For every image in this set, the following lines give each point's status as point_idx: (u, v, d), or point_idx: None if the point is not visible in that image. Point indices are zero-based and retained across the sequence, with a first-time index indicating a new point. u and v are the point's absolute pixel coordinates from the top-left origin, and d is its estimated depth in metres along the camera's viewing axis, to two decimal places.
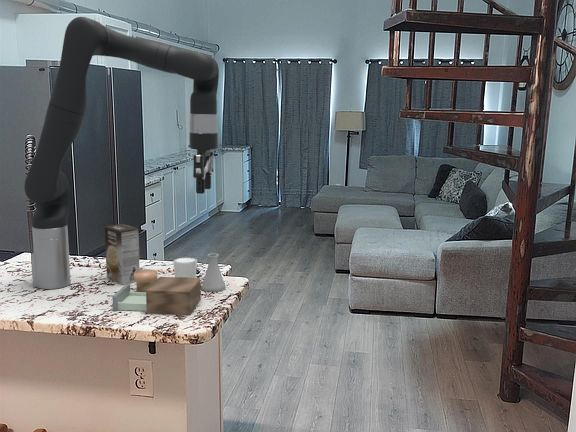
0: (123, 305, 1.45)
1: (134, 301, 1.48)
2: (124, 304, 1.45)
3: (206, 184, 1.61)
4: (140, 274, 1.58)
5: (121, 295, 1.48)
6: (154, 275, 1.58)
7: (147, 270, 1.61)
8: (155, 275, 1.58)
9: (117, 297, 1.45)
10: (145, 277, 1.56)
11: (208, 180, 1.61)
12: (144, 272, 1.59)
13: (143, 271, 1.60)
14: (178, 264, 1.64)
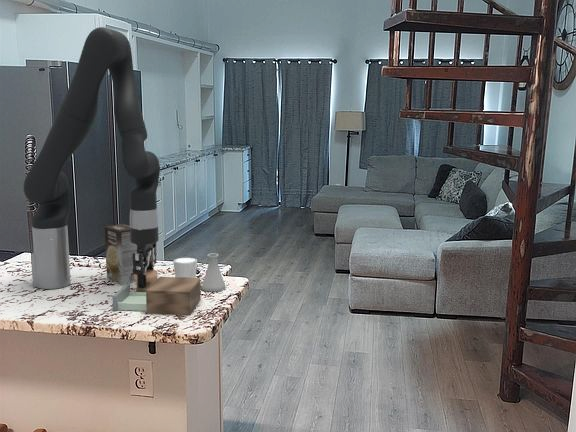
0: (123, 305, 1.45)
1: (134, 301, 1.48)
2: (124, 304, 1.45)
3: None
4: None
5: (121, 295, 1.48)
6: (154, 275, 1.58)
7: (147, 270, 1.61)
8: (155, 275, 1.58)
9: (117, 297, 1.45)
10: None
11: None
12: None
13: None
14: (178, 264, 1.64)
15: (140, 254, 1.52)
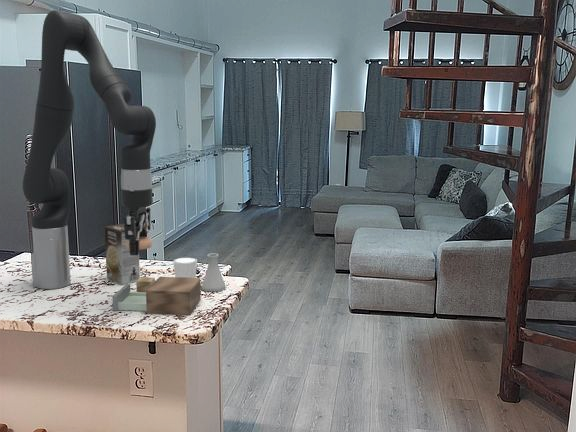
0: (123, 305, 1.45)
1: (134, 301, 1.48)
2: (124, 304, 1.45)
3: None
4: None
5: (121, 295, 1.48)
6: (148, 241, 1.45)
7: (140, 237, 1.48)
8: (149, 242, 1.45)
9: (117, 297, 1.45)
10: None
11: None
12: None
13: None
14: (178, 264, 1.64)
15: (132, 217, 1.38)
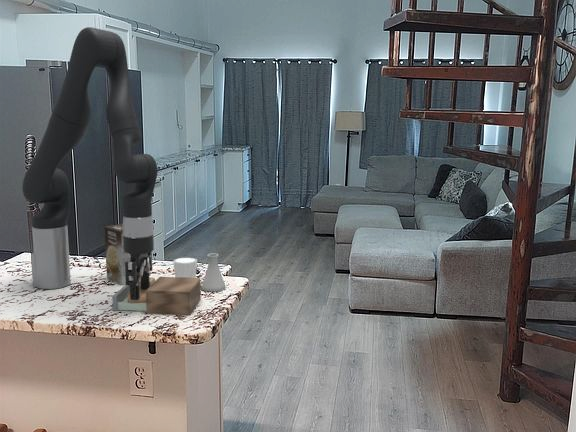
0: (123, 305, 1.45)
1: None
2: (124, 304, 1.45)
3: (144, 284, 1.52)
4: None
5: (121, 295, 1.48)
6: None
7: (142, 291, 1.51)
8: None
9: (117, 297, 1.45)
10: (139, 299, 1.46)
11: (146, 280, 1.52)
12: (139, 293, 1.49)
13: None
14: (178, 264, 1.64)
15: (134, 262, 1.41)
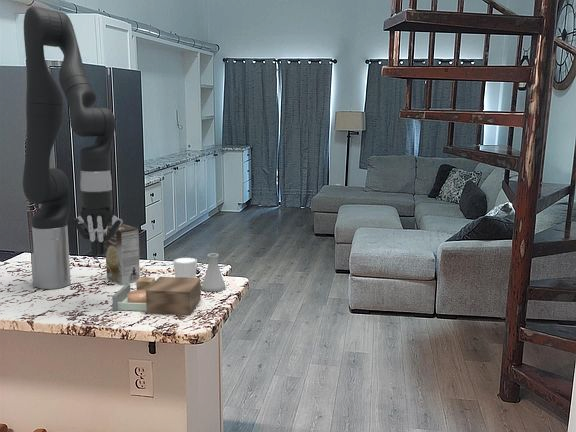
0: (123, 305, 1.45)
1: None
2: (124, 304, 1.45)
3: None
4: (135, 295, 1.47)
5: (121, 295, 1.48)
6: None
7: (142, 291, 1.51)
8: None
9: (117, 297, 1.45)
10: (140, 299, 1.46)
11: None
12: (138, 293, 1.49)
13: (138, 292, 1.50)
14: (178, 264, 1.64)
15: None
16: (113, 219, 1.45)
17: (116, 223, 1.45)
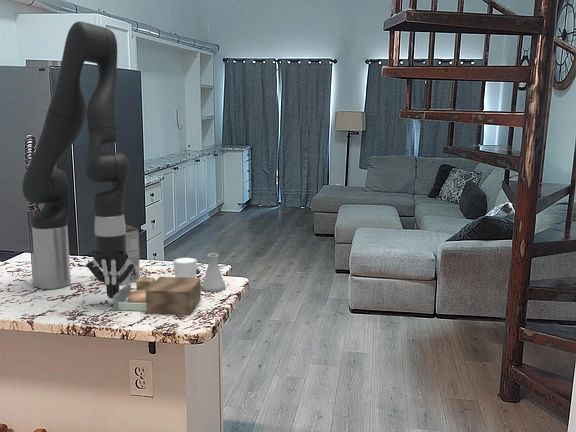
0: (124, 305, 1.45)
1: None
2: (125, 304, 1.45)
3: None
4: (136, 295, 1.47)
5: (122, 295, 1.48)
6: None
7: (142, 291, 1.51)
8: None
9: (118, 297, 1.45)
10: (140, 299, 1.46)
11: None
12: (139, 293, 1.49)
13: (138, 292, 1.50)
14: (178, 264, 1.64)
15: None
16: (127, 263, 1.47)
17: (129, 267, 1.46)
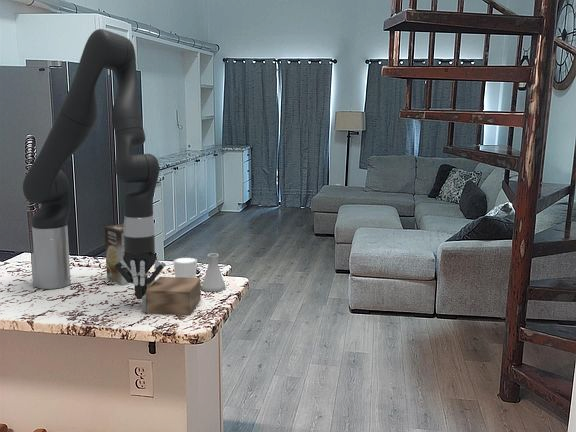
0: None
1: None
2: None
3: None
4: None
5: None
6: None
7: None
8: None
9: None
10: None
11: None
12: None
13: None
14: (178, 264, 1.64)
15: None
16: (155, 264, 1.46)
17: (158, 268, 1.46)
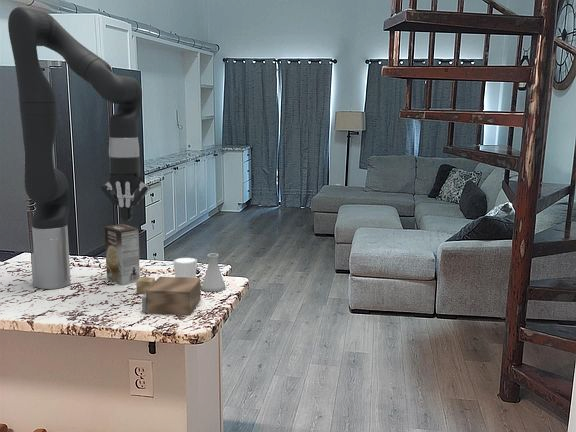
0: None
1: None
2: None
3: None
4: None
5: None
6: None
7: None
8: None
9: None
10: None
11: None
12: None
13: None
14: (178, 264, 1.64)
15: None
16: (140, 185, 1.49)
17: (143, 189, 1.49)
